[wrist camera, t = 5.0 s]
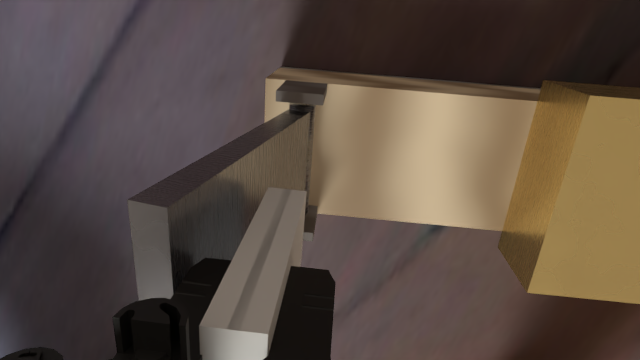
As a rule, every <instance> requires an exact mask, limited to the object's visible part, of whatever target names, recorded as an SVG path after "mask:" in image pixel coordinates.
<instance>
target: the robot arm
mask: <svg viewBox="0 0 640 360" xmlns="http://www.w3.org/2000/svg"><path fill="white" fill-rule="evenodd" d="M306 193H307V191H300V190H291V189H281V188H272V187H268V189H267V191H266V193H265V195H264V197H263V199H262V201H261V203H260V205H259V207H258V209H257V211H256V213H255V215H254V217H253V219H252V221H251V223H250V225H249V227H248V229H247V231H246V233H245V235H244V237H243V239H242V241H241V243H240V245H239V247H238V249H237V251H236V253H235V255H234V257H233V259H232V260H223V259H214V258H204V259H203V260H201V261H200V262H198V263H197V264H195V265H194V266H192V267H191V268H190V270H189V271H188V273H187V274H186V276H185V277H184V279H183V280H182V283H180V285H179V287H178V288H177V290H176V291H175V294H173V296H172V297H171V299H167V298H149V299H144V300H140V301H136V302H134V303H132V304H130V305H128V306H126V307H124V308H122V309H121V310H120V311H119V312H118V313H116V314H115V315H114V316H113V325H114V332H115V340H116V347H117V354H116V355H115V357H114V358H113V359H110V360H331V358H330V354H331V339H332V324H333V309H334V295H335V281H334V280H333V278H332V276H331V274H330V272H329V270H323V269H314V268H305V267H300V265H301V258H302V245H303V232H304V219H305V206H306ZM0 360H63V356H62V355H61V354H60V353H58V352H57V351H56V350H54V349H49V348H43V347H38V348H30V349H24V350H21V351H18V352H15V353H12V354H9V355H6V356H5V357H3V358H1V359H0Z"/></svg>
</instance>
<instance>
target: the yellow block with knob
mask: <svg viewBox="0 0 640 360" xmlns="http://www.w3.org/2000/svg"><path fill="white" fill-rule="evenodd" d="M498 248H499V250H500V251H501V253H502V254H503V256H504V258H505V259H506V261H507V262H508V264H509V265H510V267H511V268H512V270H513V272H514V273H515V275H516V276H517V278H518V279H519V281H520V282H521V284H522V286H523V287H524V289H525V290H526V292H527V293H535V294H545V295H555V296H565V297H575V298H585V299H595V300H605V301H615V302H625V303H635V304H640V88H634V87H622V86H610V85H598V84H586V83H574V82H562V81H550V80H543V83H542V86H541V90H540V94H539V97H538V101H537V105H536V108H535V112H534V116H533V120H532V123H531V127H530V131H529V134H528V138H527V142H526V145H525V149H524V153H523V156H522V160H521V164H520V167H519V171H518V175H517V178H516V182H515V186H514V189H513V193H512V197H511V200H510V204H509V208H508V211H507V215H506V219H505V222H504V226H503V230H502V233H501V237H500V241H499V245H498Z"/></svg>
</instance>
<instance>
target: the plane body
mask: <svg viewBox="0 0 640 360" xmlns="http://www.w3.org/2000/svg"><path fill="white" fill-rule="evenodd" d="M540 90H541V88H532V87H520V86H508V85H496V84H484V83H472V82H460V81H448V80H436V79H425V78H413V77H401V76H389V75H377V74H365V73H353V72H341V71H329V70H317V69H305V68H293V67H280V68H279V69H278V70H276V71H275V72H274V73H272V74H271V75H270V76H268V77H267V78H266V87H265V122H267V121H269V120H271V119H272V118H274V117H276V116H278V115H279V114H281V113H283V112H285V111H287V110H288V109H289V103H300V104H312V105H316V108H315V122H314V136H313V151H312V165H311V179H310V194H309V208H308V213H307V214H306V215H305V219H304V232H303V240H304V241H313V236H314V230H315V224H316V217H317V213H318V214H329V215H339V216H350V217H360V218H371V219H381V220H392V221H402V222H413V223H423V224H434V225H444V226H455V227H465V228H476V229H486V230H497V231H502V230H503V226H504V222H505V219H506V215H507V211H508V208H509V204H510V200H511V197H512V193H513V189H514V186H515V182H516V178H517V175H518V171H519V167H520V164H521V160H522V156H523V153H524V149H525V145H526V142H527V138H528V134H529V131H530V127H531V123H532V120H533V116H534V112H535V108H536V105H537V101H538V97H539V94H540Z"/></svg>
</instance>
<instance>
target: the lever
mask: <svg viewBox="0 0 640 360" xmlns="http://www.w3.org/2000/svg"><path fill="white" fill-rule="evenodd" d="M315 108H316V105H312V104H300V103H289V109H288V110H287V111H285V112H283V113H281V114H279V115H278V116H276V117H274V118H272V119H271V120H269V121H267V122H265V123H263V124H262V125H260V126H258V127H256V128H254V129H253V130H251V131H249V132H247V133H246V134H244V135H242V136H240V137H238V138H237V139H235V140H233V141H231V142H229V143H228V144H226V145H224V146H222V147H221V148H219V149H217V150H215V151H213V152H212V153H210V154H208V155H206V156H204V157H203V158H201V159H199V160H197V161H196V162H194V163H192V164H190V165H188V166H187V167H185V168H183V169H181V170H180V171H178V172H176V173H174V174H172V175H171V176H169V177H167V178H165V179H163V180H162V181H160V182H158V183H156V184H155V185H153V186H151V187H149V188H147V189H146V190H144V191H142V192H140V193H138V194H137V195H135V196H133V197H131V198H130V199H128V200H127V202H128V211H129V220H130V228H131V237H132V246H133V255H134V264H135V273H136V281H137V290H138V299H139V301H140V300H144V299H149V298H167V299H171V297H172V296H173V294H175V291H176V290H177V288H178V287H179V285H180V283H182V280H183V279H184V277H185V276H186V274H187V273H188V271H189V270H190V268H191V267H192V266H194V265H195V264H197V263H198V262H200V261H201V260H203V259H204V258H214V259H223V260H232V259H233V257H234V255H235V253H236V251H237V249H238V247H239V245H240V243H241V241H242V239H243V237H244V235H245V233H246V231H247V229H248V227H249V225H250V223H251V221H252V219H253V217H254V215H255V213H256V211H257V209H258V207H259V205H260V203H261V201H262V199H263V197H264V195H265V193H266V191H267V189H268V187H272V188H281V189H291V190H300V191H307V193H306V206H305V215H306V214H307V213H308V208H309V194H310V179H311V165H312V151H313V136H314V122H315Z"/></svg>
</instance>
